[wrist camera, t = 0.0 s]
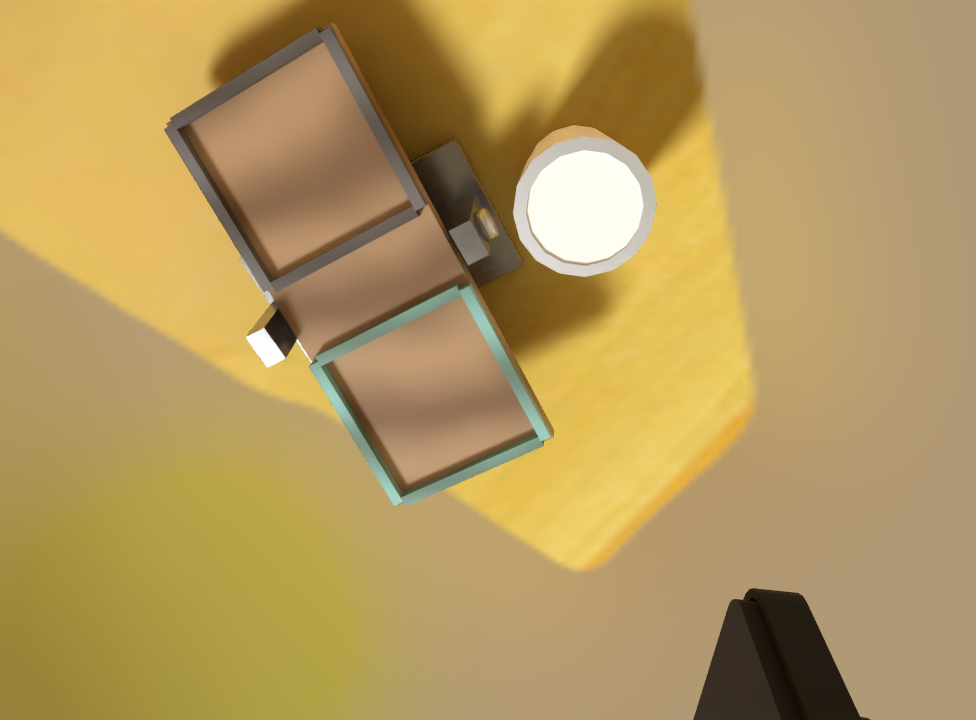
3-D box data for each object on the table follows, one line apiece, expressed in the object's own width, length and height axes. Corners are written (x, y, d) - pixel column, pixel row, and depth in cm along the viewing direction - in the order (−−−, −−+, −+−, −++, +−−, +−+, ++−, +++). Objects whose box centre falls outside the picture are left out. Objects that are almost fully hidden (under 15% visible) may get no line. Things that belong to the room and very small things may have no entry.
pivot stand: (240, 256, 47) (202, 295, 41) (459, 135, 43) (450, 159, 38) (316, 364, 50) (289, 415, 44) (526, 259, 46) (527, 299, 41)
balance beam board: (175, 123, 41) (160, 124, 40) (335, 24, 39) (326, 21, 37) (402, 496, 47) (396, 510, 46) (553, 429, 45) (553, 441, 43)
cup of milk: (637, 108, 43) (658, 131, 36) (636, 232, 45) (655, 273, 39) (509, 117, 43) (508, 141, 37) (516, 239, 46) (516, 281, 40)
